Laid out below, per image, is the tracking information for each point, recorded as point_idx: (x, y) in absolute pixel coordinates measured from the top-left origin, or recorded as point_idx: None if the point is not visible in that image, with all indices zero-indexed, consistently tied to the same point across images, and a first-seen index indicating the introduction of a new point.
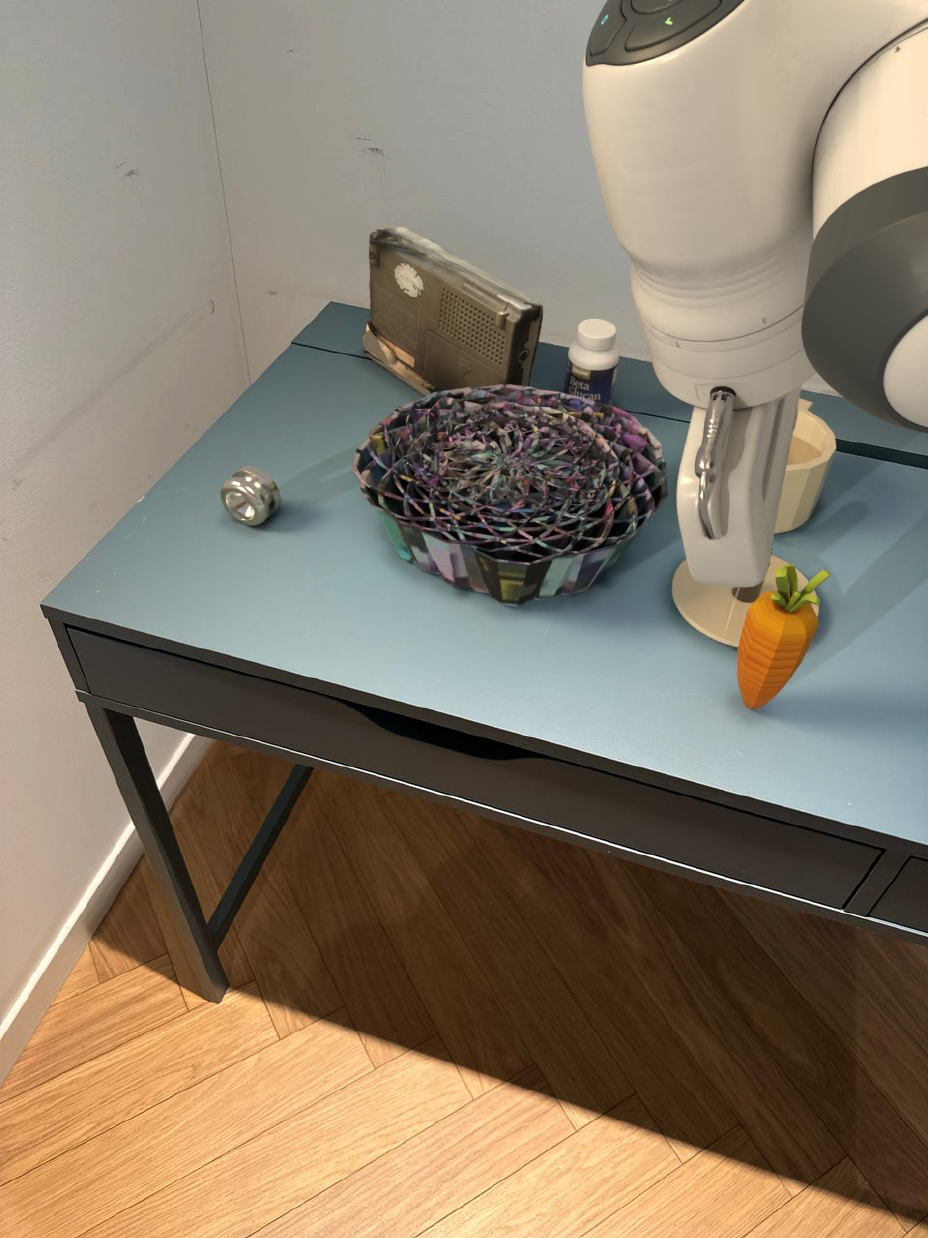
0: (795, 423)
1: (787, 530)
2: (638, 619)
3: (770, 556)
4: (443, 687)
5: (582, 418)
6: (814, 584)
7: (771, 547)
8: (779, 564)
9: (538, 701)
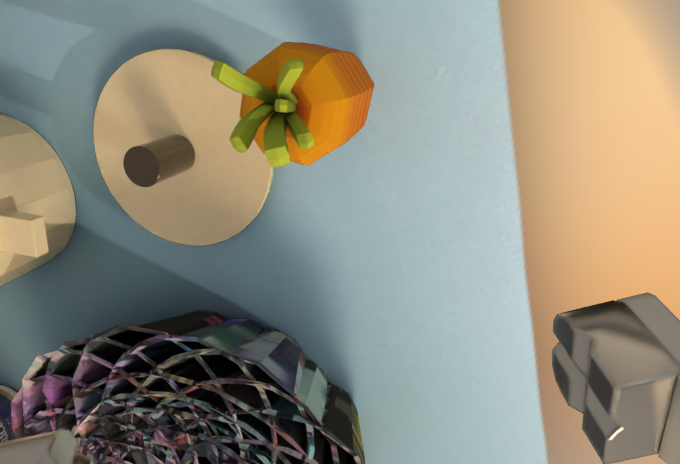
0: (26, 446)
1: (37, 133)
2: (287, 259)
3: (641, 307)
4: (509, 429)
5: None
6: (247, 82)
7: (612, 321)
8: (103, 126)
9: (478, 328)
